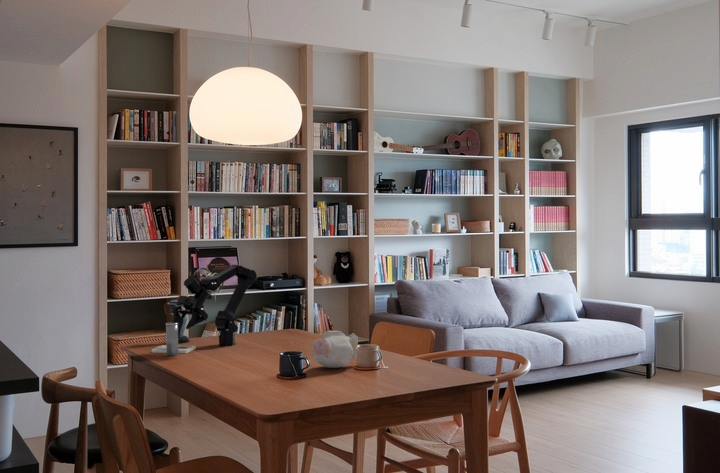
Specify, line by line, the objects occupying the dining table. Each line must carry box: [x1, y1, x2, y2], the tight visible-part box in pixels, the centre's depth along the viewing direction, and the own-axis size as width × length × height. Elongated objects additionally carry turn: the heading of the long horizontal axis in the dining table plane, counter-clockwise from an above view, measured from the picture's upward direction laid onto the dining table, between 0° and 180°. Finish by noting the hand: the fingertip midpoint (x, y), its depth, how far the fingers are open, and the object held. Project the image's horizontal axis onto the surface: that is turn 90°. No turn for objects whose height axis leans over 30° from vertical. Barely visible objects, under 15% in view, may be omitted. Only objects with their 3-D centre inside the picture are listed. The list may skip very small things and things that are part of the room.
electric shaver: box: [163, 299, 190, 344], centre depth 374 cm, size 9×12×20 cm
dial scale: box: [151, 344, 197, 354], centre depth 350 cm, size 16×12×2 cm
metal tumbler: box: [165, 321, 179, 357], centre depth 337 cm, size 5×5×14 cm
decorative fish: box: [311, 330, 359, 369], centre depth 304 cm, size 16×19×15 cm
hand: (179, 327), depth 341 cm, fingers open, 9 cm apart
